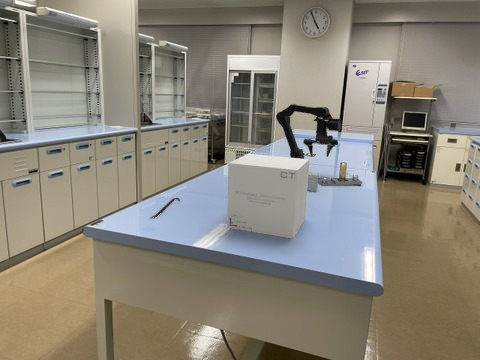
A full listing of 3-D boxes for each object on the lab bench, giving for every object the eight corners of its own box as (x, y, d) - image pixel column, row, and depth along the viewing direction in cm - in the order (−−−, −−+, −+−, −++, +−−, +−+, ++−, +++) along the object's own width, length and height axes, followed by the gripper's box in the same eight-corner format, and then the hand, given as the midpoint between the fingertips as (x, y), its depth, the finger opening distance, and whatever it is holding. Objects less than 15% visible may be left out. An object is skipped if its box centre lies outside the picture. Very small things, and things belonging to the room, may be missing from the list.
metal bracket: (321, 185, 200) (321, 177, 199) (316, 182, 208) (317, 173, 206) (362, 185, 202) (362, 177, 201) (356, 182, 210) (357, 174, 209)
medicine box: (317, 189, 192) (318, 173, 190) (316, 192, 188) (317, 175, 186) (302, 188, 195) (303, 172, 192) (300, 190, 190) (301, 173, 188)
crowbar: (171, 197, 170) (182, 197, 170) (171, 199, 171) (182, 200, 170) (149, 217, 143) (161, 218, 143) (149, 220, 144) (161, 220, 143)
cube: (227, 227, 137) (228, 163, 131) (246, 210, 157) (248, 153, 151) (293, 238, 129) (297, 170, 123) (305, 219, 148) (309, 159, 142)
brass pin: (339, 184, 203) (341, 163, 200) (337, 183, 207) (339, 162, 204) (345, 184, 204) (348, 163, 201) (343, 183, 207) (345, 162, 204)
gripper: (309, 131, 200) (307, 159, 204) (342, 131, 202) (340, 159, 206) (304, 128, 211) (302, 155, 214) (335, 129, 213) (333, 156, 216)
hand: (319, 156), depth 212 cm, fingers open, 9 cm apart
